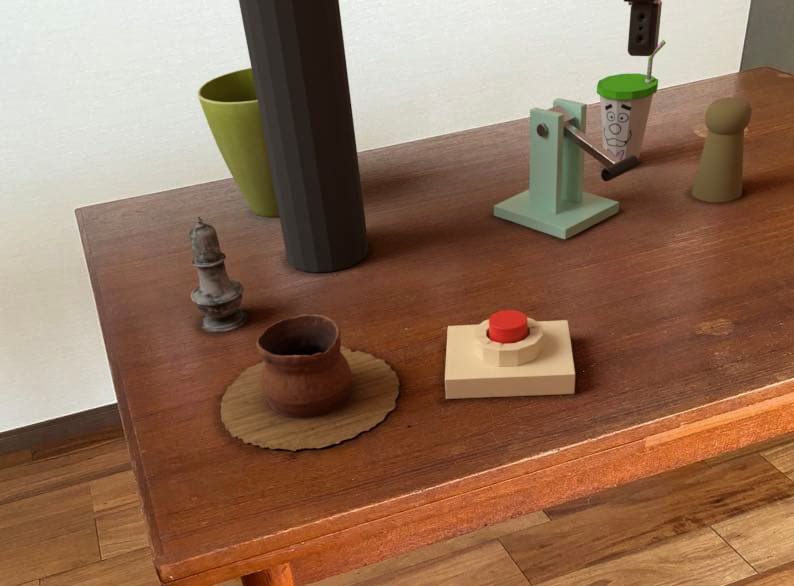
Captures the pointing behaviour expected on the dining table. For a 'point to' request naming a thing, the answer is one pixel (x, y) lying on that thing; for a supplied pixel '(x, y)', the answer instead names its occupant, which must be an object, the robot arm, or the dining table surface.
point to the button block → (509, 362)
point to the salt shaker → (214, 283)
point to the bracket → (556, 179)
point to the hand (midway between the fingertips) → (642, 53)
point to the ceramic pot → (307, 388)
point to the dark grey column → (308, 129)
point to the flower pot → (241, 136)
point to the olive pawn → (723, 151)
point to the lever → (595, 148)
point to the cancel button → (508, 327)
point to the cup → (626, 109)
